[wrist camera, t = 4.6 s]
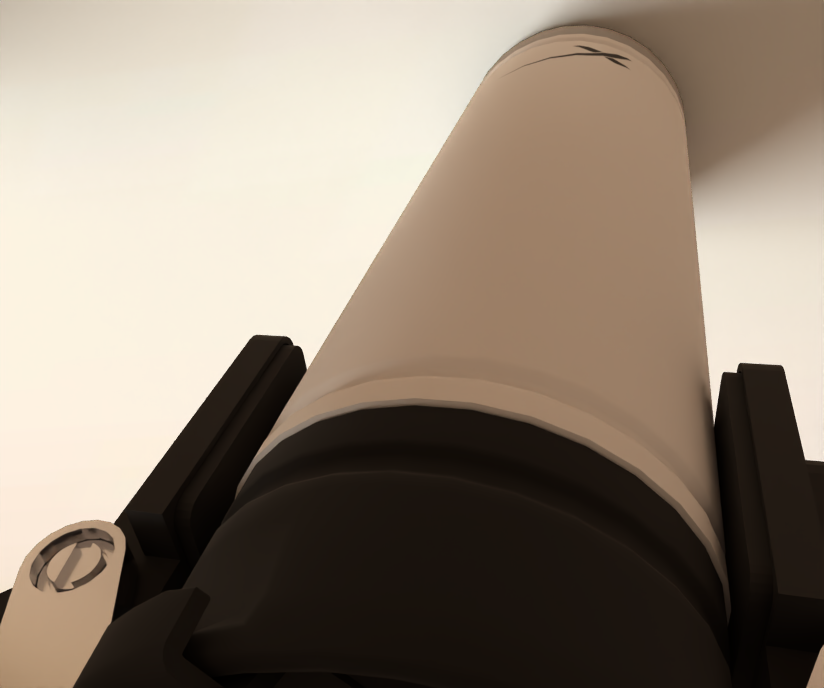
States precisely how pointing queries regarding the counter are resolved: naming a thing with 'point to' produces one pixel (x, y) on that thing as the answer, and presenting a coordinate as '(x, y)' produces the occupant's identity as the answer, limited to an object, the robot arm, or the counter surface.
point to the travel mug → (488, 428)
